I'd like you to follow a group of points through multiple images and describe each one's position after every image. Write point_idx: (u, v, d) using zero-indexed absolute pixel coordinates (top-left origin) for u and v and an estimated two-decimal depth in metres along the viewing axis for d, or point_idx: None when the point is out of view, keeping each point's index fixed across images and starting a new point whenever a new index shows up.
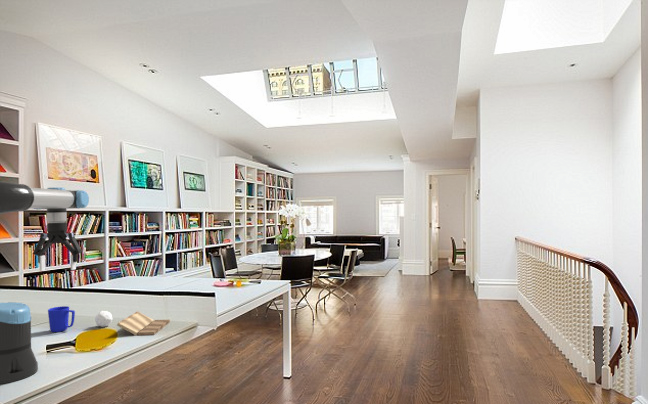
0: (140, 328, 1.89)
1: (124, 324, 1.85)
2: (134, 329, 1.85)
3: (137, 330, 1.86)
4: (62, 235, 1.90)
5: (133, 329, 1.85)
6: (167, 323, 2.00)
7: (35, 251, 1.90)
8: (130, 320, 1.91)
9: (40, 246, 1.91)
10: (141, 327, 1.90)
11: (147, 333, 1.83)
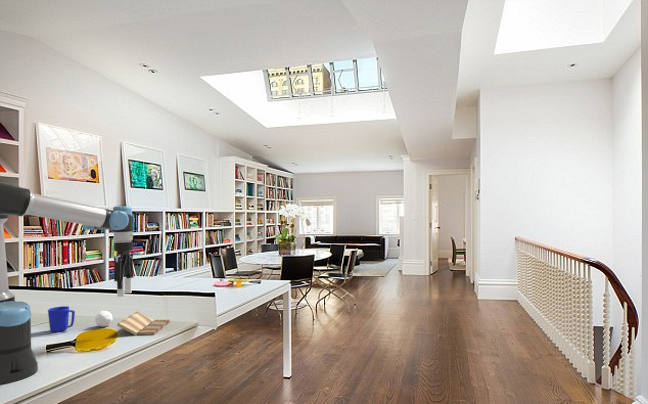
0: (140, 328, 1.89)
1: (124, 324, 1.85)
2: (134, 329, 1.85)
3: (137, 330, 1.86)
4: None
5: (133, 329, 1.85)
6: (167, 323, 2.00)
7: None
8: (130, 320, 1.91)
9: None
10: (141, 327, 1.90)
11: (147, 333, 1.83)
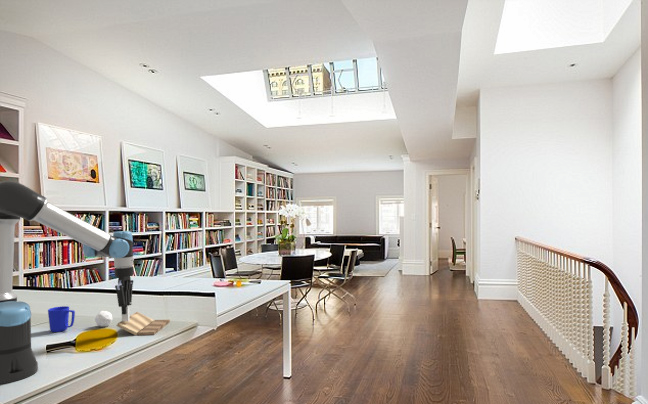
0: (140, 328, 1.89)
1: (124, 325, 1.85)
2: (134, 329, 1.85)
3: (137, 330, 1.86)
4: None
5: (133, 329, 1.85)
6: (167, 323, 2.00)
7: None
8: (130, 320, 1.91)
9: None
10: (141, 327, 1.90)
11: (147, 333, 1.83)
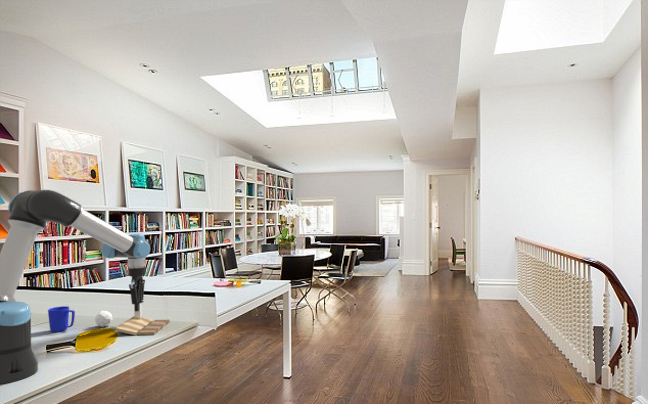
0: (139, 328, 1.89)
1: (122, 328, 1.85)
2: (133, 330, 1.85)
3: (136, 330, 1.86)
4: None
5: (132, 330, 1.85)
6: (167, 323, 2.00)
7: None
8: (128, 324, 1.91)
9: None
10: (140, 327, 1.90)
11: (147, 333, 1.83)
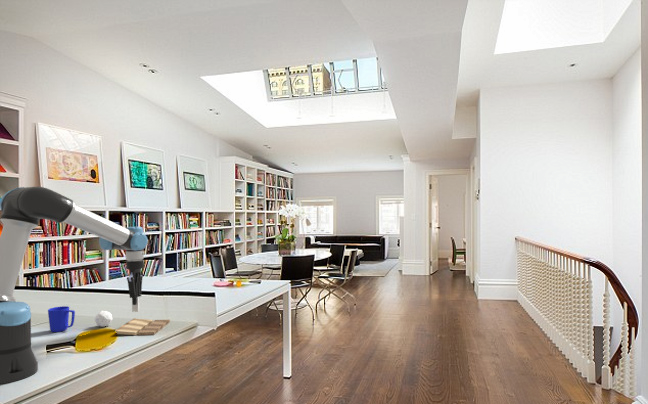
0: (139, 328, 1.89)
1: (121, 330, 1.84)
2: (132, 330, 1.85)
3: (136, 330, 1.86)
4: None
5: (131, 331, 1.85)
6: (167, 323, 2.00)
7: None
8: (127, 326, 1.91)
9: None
10: (140, 327, 1.90)
11: (147, 333, 1.83)
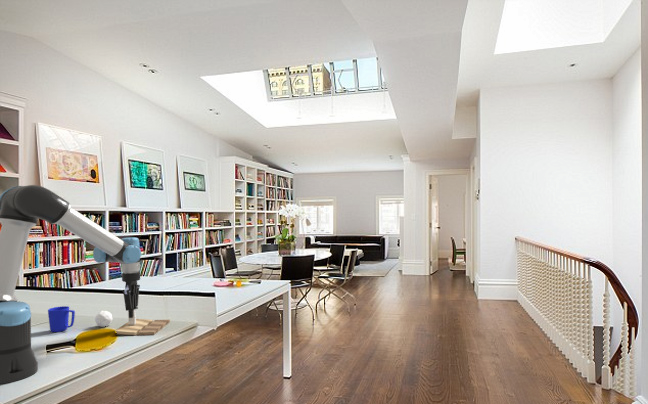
0: (139, 328, 1.89)
1: (121, 330, 1.84)
2: (132, 330, 1.85)
3: (136, 330, 1.86)
4: None
5: (131, 331, 1.85)
6: (167, 323, 2.00)
7: None
8: (127, 326, 1.91)
9: None
10: (140, 327, 1.90)
11: (147, 333, 1.83)
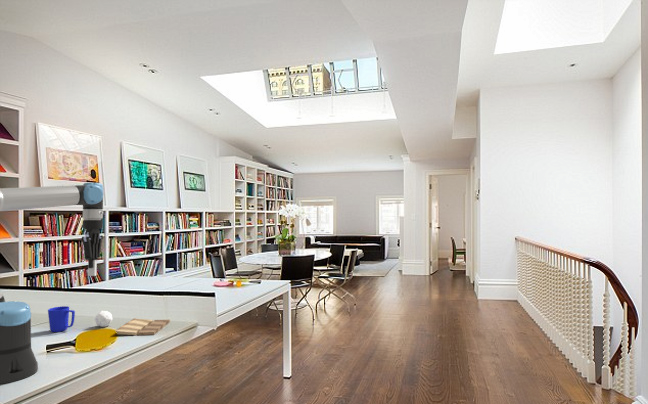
0: (139, 328, 1.89)
1: (121, 330, 1.84)
2: (132, 330, 1.85)
3: (136, 330, 1.86)
4: None
5: (131, 331, 1.85)
6: (167, 323, 2.00)
7: None
8: (127, 326, 1.91)
9: None
10: (140, 327, 1.90)
11: (147, 333, 1.83)
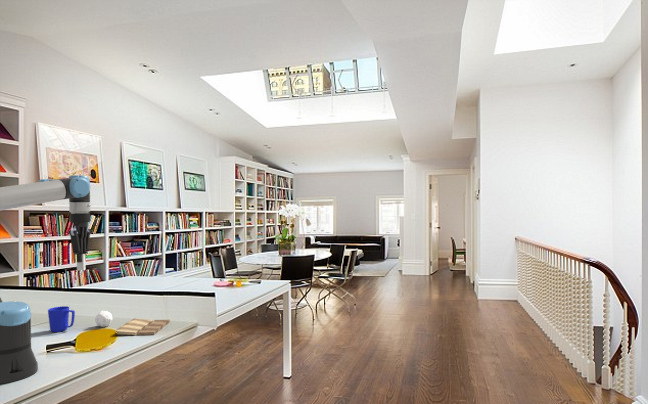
0: (139, 328, 1.89)
1: (121, 330, 1.84)
2: (132, 330, 1.85)
3: (136, 330, 1.86)
4: None
5: (131, 331, 1.85)
6: (167, 323, 2.00)
7: None
8: (127, 326, 1.91)
9: None
10: (140, 327, 1.90)
11: (147, 333, 1.83)
